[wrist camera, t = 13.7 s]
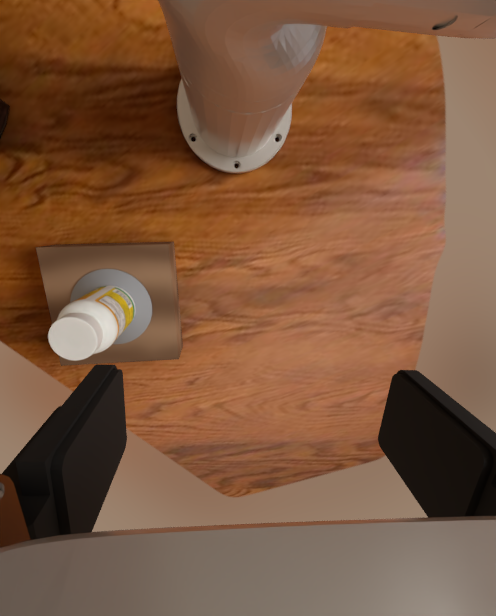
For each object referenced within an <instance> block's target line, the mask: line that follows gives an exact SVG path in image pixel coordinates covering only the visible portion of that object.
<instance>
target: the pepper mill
mask: <svg viewBox="0 0 496 616" xmlns="http://www.w3.org/2000/svg"><path fill="white" fill-rule="evenodd" d="M9 108H10V106H9V105H7V104H6V103H5V102H4V101H2V100H1V99H0V138H1V136H2V133H3V131H4V128H5V126H6V122H7V117H8V112H9Z"/></svg>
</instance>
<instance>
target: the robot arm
mask: <svg viewBox="0 0 496 616" xmlns="http://www.w3.org/2000/svg"><path fill="white" fill-rule="evenodd" d="M158 1H159V3H160V5H161V8H162V11H163V14H164V16H165V20H166V23H167V26H168V30H169V33H170V37H171V40H172V44H173V48H174V52H175V56H176V59H177V63H178V67H179V70H180V74H181V81H180V83H179V88H178V94H177V114H178V120H179V124H180V127H181V130H182V133H183V135H184V137H185V140H186V142H187V143H188V145H189V146H190V148H191V149H192V151H193V152H194V153H195V154H196V155H197V156H198V157H199V158H200V159H201V160H202V161H203V162H205V163H206V164H207V165H209V166H210V167H213V168H215V169H217V170H219V171H223V172H227V173H238V174H239V173H246V172H250V171H253V170H255V169H258V168H260V167H261V166H263V165H264V164H266V163H267V162H269V161H270V160H271V159H272V158H273V157H274V156H275V155H276V153H277V152H278V151H279V150H280V148H281V146H282V145H283V143H284V141H285V139H286V136H287V134H288V131H289V128H290V123H291V117H292V101H293V100H294V98H295V97H296V95H297V93H298V92H299V90H300V88H301V87H302V85H303V83H304V81H305V80H306V78H307V76H308V74H309V73H310V71H311V69H312V68H313V66H314V64H315V62H316V60H317V57H318V55H319V53H320V50H321V47H322V44H323V41H324V37H325V33H326V28H327V26H331V27H341V28H350V27H353V26H355V27H364V28H373V29H382V30H392V31H401V32H410V33H419V34H428V35H438V36H447V37H460V38H479V39H480V38H481V39H496V0H158ZM193 137H194V138H196V141H195V142H193V141H191V139H192V138H193ZM275 138H278V139H279V142H276V141H275ZM235 164H238V166H239V167H238V168H235V167H234V165H235ZM126 440H127V436H126V419H125V404H124V388H123V373H122V370H118V369H117V368H116V366H115V365H95V366H94V367H93V369H92V370H91V371H90V372H89V373H88V375H87V376H86V377H85V378H84V380H83V381H82V382H81V383H80V384H79V386H78V387H77V388H76V389H75V390H74V392H73V393H72V394H71V395H70V397H69V398H68V399H67V400H66V401H65V403H64V404H63V405H62V406H60V407H58V408H57V409H56V410H55V411H54V412H53V413H52V414H51V416H50V417H49V418H48V419H47V421H46V422H45V423H44V424H43V425H42V427H41V428H40V429H39V430H38V431H37V432H36V434H35V435H34V436H33V437H32V438H31V440H30V441H29V442H28V443H27V444H26V446H25V447H24V448H23V449H22V450H21V451H20V453H19V454H18V455H17V456H16V457H15V459H14V460H13V461H12V462H11V463H10V465H9V466H8V467H7V468H6V469H5V470H4V472H3V473H2V474H0V616H496V433H495V432H494V431H492V430H491V429H490V428H489V427H487V426H486V425H485V424H483V423H482V422H481V421H480V420H478V419H477V418H476V417H475V416H474V415H472V414H471V413H470V412H469V411H467V410H466V409H465V408H464V407H462V406H461V405H460V404H459V403H457V402H456V401H455V400H453V399H452V398H451V397H450V396H449V395H447V394H446V393H445V392H444V391H442V390H441V389H440V388H439V387H437V386H436V385H435V384H434V383H432V382H431V381H430V380H429V379H427V378H426V377H425V376H424V375H422V374H421V373H420V372H418V371H416V370H400V371H398V372H397V374H395V375H394V376H393V377H392V381H391V385H390V389H389V393H388V398H387V402H386V406H385V410H384V414H383V419H382V423H381V427H380V431H379V435H378V441H379V445H380V447H381V449H382V450H383V452H384V453H385V455H386V456H387V458H388V459H389V460H390V462H391V463H392V465H393V466H394V468H395V469H396V471H397V472H398V474H399V475H400V476H401V478H402V479H403V481H404V482H405V484H406V485H407V487H408V488H409V490H410V491H411V493H412V494H413V495H414V497H415V499H416V500H417V501H418V503H419V504H420V506H421V507H422V509H423V510H424V512H425V513H426V514H427V516H428V518H399V519H369V520H343V521H342V520H341V521H314V522H287V523H263V524H262V523H261V524H240V525H239V524H237V525H214V526H191V527H168V528H150V529H134V530H133V529H132V530H115V531H101V532H92V529H93V527H94V524H95V522H96V520H97V517H98V515H99V512H100V510H101V507H102V504H103V502H104V500H105V497H106V495H107V492H108V490H109V487H110V485H111V482H112V480H113V478H114V475H115V472H116V470H117V468H118V465H119V463H120V460H121V458H122V455H123V453H124V450H125V446H126Z"/></svg>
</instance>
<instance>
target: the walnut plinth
mask: <svg viewBox="0 0 496 616" xmlns="http://www.w3.org/2000/svg"><path fill="white" fill-rule="evenodd" d="M36 251H37V255H38V260H39V265H40V269H41V274H42V279H43V283H44V288H45V293H46V298H47V302H48V307H49V312H50V316H51V321H52V324H53V323H54V322H55V321H57V318H58V315H59V314H60V312H61V311H62V309H63V308H64V307H65V306H67V305H68V304H70V303H71V302H73V301H75V300H77V299H79V298H81V297H82V296H84V295H86V294H88V293H90V292H91V291H93V290H95V289H97V288H99V287H102V286H108V285H111V286H116V287H119V288H122V289H123V290H125V291H126V292H127V293H128V294H129V295H130V296H131V297H132V299H133V301H134V303H135V316H134V319H133V320H132V322H131V323H130V324H129V325H128V327H127V328H126V329H125V330H124V331H123V332H122V333H121V335H120V336H119V337H118V338H117V339H116V340H115V341H114V343H113V344H112V345H111V346H110V347H109V348H107V349H106V350H104V351H102V352H100V353H96V354H92V355H91V356H90V357H88V358H86V359H83V360H77V361H73V360H68V359H65V358H62V357H61V356H59V358H60V363H61V366H62V365H80V364H98V363H117V362H135V361H153V360H171V359H179V357H180V353H181V350H182V347H183V344H182V332H181V321H180V309H179V297H178V286H177V274H176V262H175V251H174V242H147V243H105V244H64V245H50V246H43V247H36Z"/></svg>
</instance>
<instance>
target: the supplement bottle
mask: <svg viewBox="0 0 496 616" xmlns="http://www.w3.org/2000/svg"><path fill="white" fill-rule="evenodd" d="M134 316H135V303H134V301H133V299H132V297H131V296H130V295H129V294H128V293H127V292H126V291H125V290H123V289H122V288H119V287H116V286H111V285H108V286H102V287H99V288H97V289H95V290H93V291H91V292H90V293H88V294H86V295H84V296H82V297H81V298H79V299H77V300H75V301H73V302H71V303H70V304H68V305H67V306H65V307H64V308H63V309H62V311H61V312H60V314H59V315H58V318H57V321H55V322H54V323H53V324H52V325H51V327H50V329H49V332H48V340H49V344H50V346H51V348H52V349H53V351H54V352H55V353H57V354H58V355H59V356H61V357H62V358H65V359H68V360H73V361H77V360H83V359H86V358H88V357H90V356H91V355H92V354H96V353H100V352H102V351H104V350H106V349H107V348H109V347H110V346H111V345H112V344H113V343H114V341H115V340H116V339H117V338H118V337H119V336H120V335H121V333H122V332H123V331H124V330H125V329H126V328H127V327H128V325H129V324H130V323H131V322H132V320H133V319H134Z"/></svg>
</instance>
